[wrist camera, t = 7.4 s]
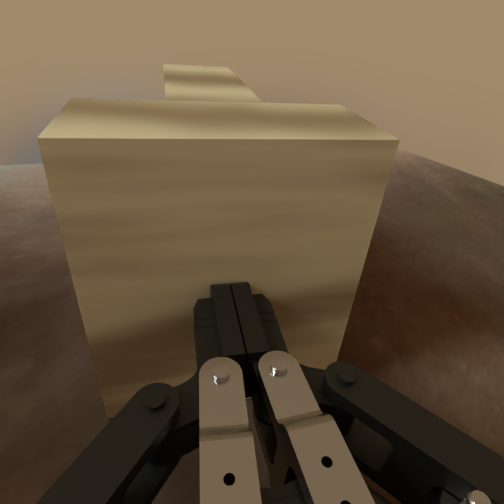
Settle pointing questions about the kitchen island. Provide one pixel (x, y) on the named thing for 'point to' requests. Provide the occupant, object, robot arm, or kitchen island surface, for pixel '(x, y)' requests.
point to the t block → (210, 218)
